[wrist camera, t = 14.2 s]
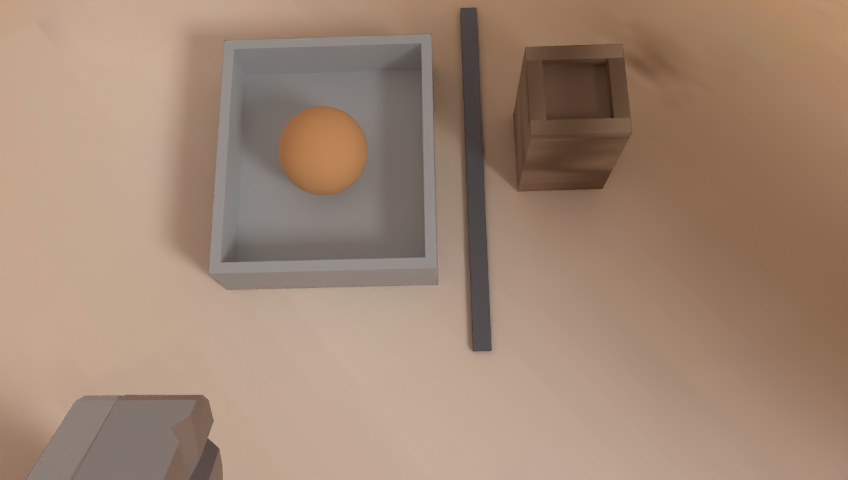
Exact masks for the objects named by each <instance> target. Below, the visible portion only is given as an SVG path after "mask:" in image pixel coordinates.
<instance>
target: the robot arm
mask: <svg viewBox="0 0 848 480" xmlns="http://www.w3.org/2000/svg"><path fill="white" fill-rule="evenodd" d="M213 421H214V420H213V416H212V412H211V408H210V404H209V400H208V399H207V398H206V397H204V396H203V395H124V396H120V395H103V396H84V397H82V398H80V399H78V400H77V401H76V402H75V403H74V404H73V406H72V407H71V409H70V410H69V412H68V413H67V415H66V417H65V418H64V420H63V421H62V423H61V425H60V426H59V428H58V429H57V431H56V432H55V434H54V436H53V437H52V439H51V440H50V442H49V444H48V445H47V447H46V448H45V450H44V452H43V453H42V455H41V456H40V458H39V459H38V461H37V463H36V464H35V466H34V467H33V469H32V471H31V472H30V474H29V475H28V477H27V478H26V480H223V471H222V460H221V455H220V450H219V448H218V447H217V446H216V445H215V444H214V443H213V442H211V441H210V440H209V439H208V435H209V433H210V430H211V427H212V424H213Z"/></svg>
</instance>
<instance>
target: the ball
mask: <svg viewBox="0 0 848 480" xmlns="http://www.w3.org/2000/svg"><path fill="white" fill-rule="evenodd" d="M278 151H279V159H280V163H281V166H282V168H283V170H284V172H285V174H286V176H287V177H288V178H289V179H290V180H291V181H292V183H293V184H295V185H296V186H297V187H299V188H300V189H302V190H304V191H306V192H309V193H312V194H317V195H331V194H335V193H339V192H341V191H343V190H345V189H347V188H348V187H350V186H351V185H352V184H353V183H355V181H356V180H357V179H358V178H359V177H360V175H361V174H362V172H363V170H364V167H365V164H366V161H367V151H368V150H367V142H366V138H365V135H364V133H363V131H362V129H361V127H360V126H359V124H358V123H357V122H356V121H355V120H354V119H353V118H352V117H351V116H350V115H348V114H347V113H345V112H343V111H341V110H339V109H337V108H333V107H327V106H317V107H312V108H308V109H306V110H303V111H301V112H300V113H298V114H297V115H295V116H294V117H293V118H292V119H291V120H290V121H289V122H288V123H287V125H286V126H285V128H284V130H283V132H282V134H281V137H280V140H279V148H278Z"/></svg>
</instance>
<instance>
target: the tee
mask: <svg viewBox="0 0 848 480" xmlns="http://www.w3.org/2000/svg"><path fill="white" fill-rule="evenodd" d="M513 117H514V134H515V151H516V168H517V186H518V191H540V190H577V189H602V188H603V186H604V184H605V183H606V181H607V179H608V177H609V175H610V173H611V171H612V169H613V167H614V165H615V164H616V162H617V160H618V158H619V156H620V154H621V152H622V150H623V148H624V146H625V144H626V143H627V141H628V139H629V137H630V135H631V133H632V128H631V118H630V109H629V100H628V91H627V81H626V72H625V63H624V53H623V44H605V45H573V46H541V47H525V53H524V59H523V64H522V70H521V75H520V81H519V87H518V92H517V98H516V103H515V109H514V114H513Z"/></svg>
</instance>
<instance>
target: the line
mask: <svg viewBox="0 0 848 480" xmlns="http://www.w3.org/2000/svg"><path fill="white" fill-rule="evenodd" d="M461 35H462V62H463V88H464V115H465V142H466V169H467V196H468V223H469V250H470V277H471V303H472V330H473V351H491V328H490V305H489V283H488V260H487V238H486V215H485V193H484V170H483V147H482V125H481V102H480V80H479V57H478V34H477V12H476V8H461Z"/></svg>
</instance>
